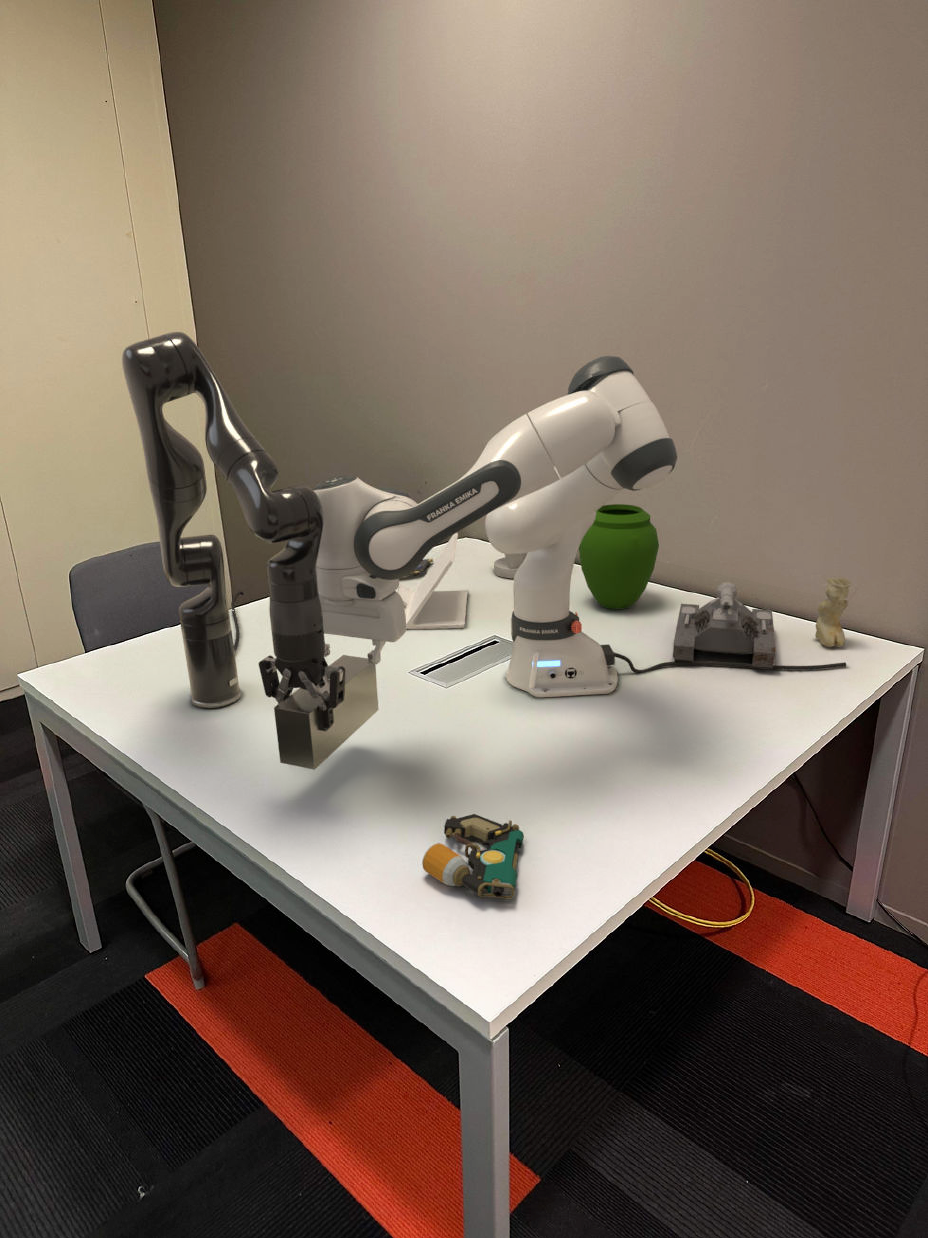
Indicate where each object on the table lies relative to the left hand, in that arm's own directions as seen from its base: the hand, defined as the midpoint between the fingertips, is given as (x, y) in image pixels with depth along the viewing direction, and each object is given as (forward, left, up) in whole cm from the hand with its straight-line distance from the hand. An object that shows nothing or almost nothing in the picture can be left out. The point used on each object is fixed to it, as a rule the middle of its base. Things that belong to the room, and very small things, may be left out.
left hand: (307, 725), depth 131 cm
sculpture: (+13, +117, -13) cm, 119 cm away
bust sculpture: (-67, +97, -13) cm, 119 cm away
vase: (-34, +99, -13) cm, 106 cm away
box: (-4, +6, -5) cm, 9 cm away
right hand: (-7, +11, +6) cm, 14 cm away
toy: (+1, +98, -13) cm, 99 cm away
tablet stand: (-60, +61, -13) cm, 86 cm away
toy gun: (-91, +74, -13) cm, 118 cm away
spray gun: (+30, +11, -13) cm, 34 cm away
